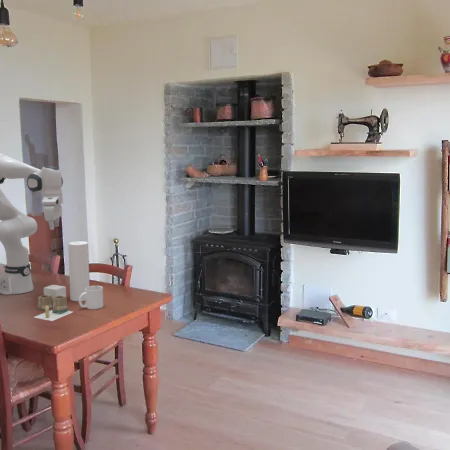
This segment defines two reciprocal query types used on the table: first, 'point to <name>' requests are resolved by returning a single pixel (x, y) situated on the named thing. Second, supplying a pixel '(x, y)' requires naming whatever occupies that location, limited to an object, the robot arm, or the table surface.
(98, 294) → the mug
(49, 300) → the sleeve
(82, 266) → the cylinder container
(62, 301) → the sleeve seated
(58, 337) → the table surface
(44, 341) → the table surface
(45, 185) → the robot arm
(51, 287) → the white box
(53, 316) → the pin board
